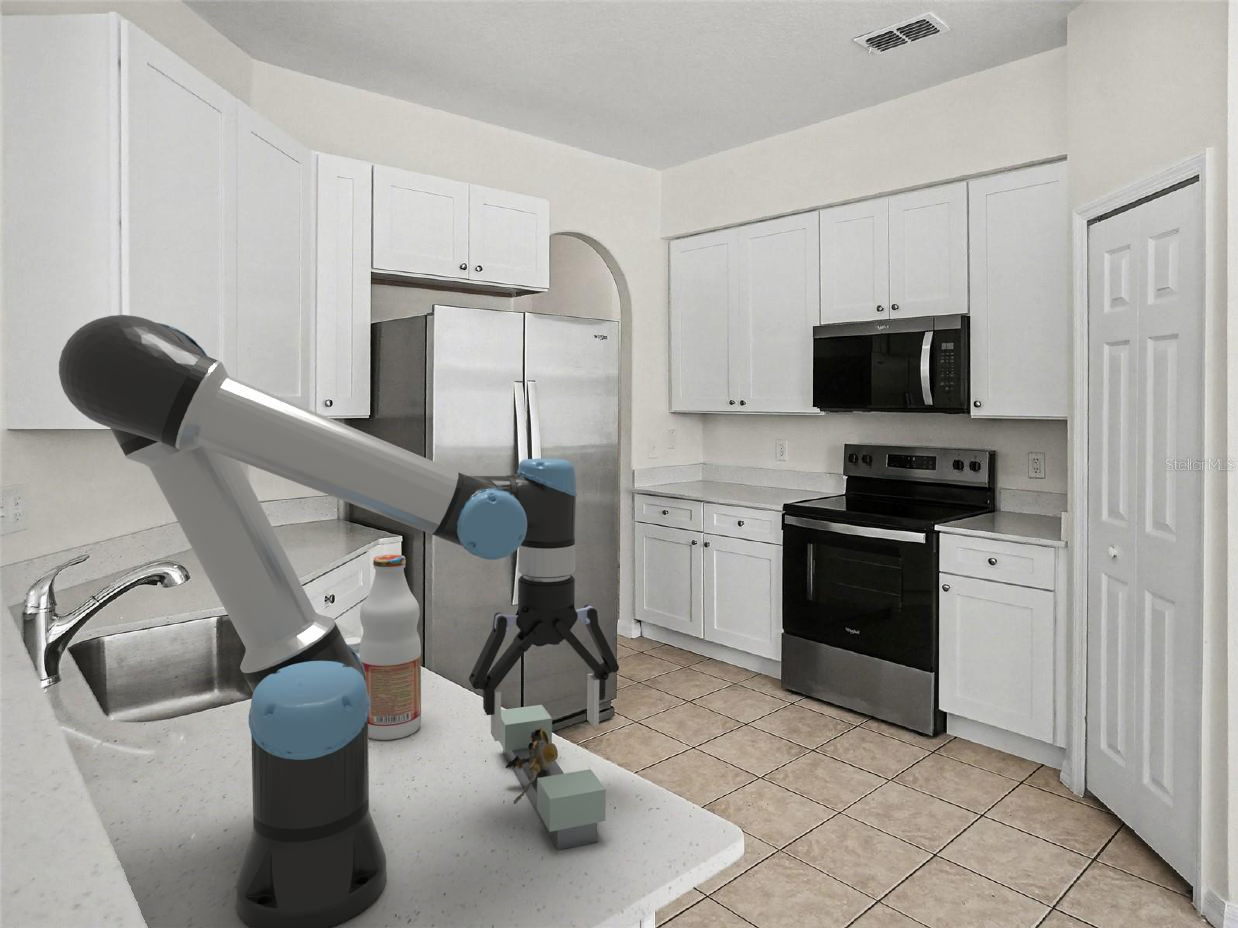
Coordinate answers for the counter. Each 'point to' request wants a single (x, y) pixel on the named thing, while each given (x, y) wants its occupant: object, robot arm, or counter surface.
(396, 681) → the fruit juice
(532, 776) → the regulator
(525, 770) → the rail
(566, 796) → the mounted modules
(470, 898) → the counter surface
